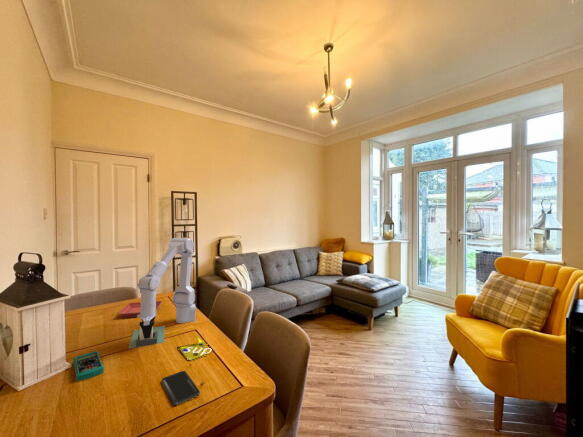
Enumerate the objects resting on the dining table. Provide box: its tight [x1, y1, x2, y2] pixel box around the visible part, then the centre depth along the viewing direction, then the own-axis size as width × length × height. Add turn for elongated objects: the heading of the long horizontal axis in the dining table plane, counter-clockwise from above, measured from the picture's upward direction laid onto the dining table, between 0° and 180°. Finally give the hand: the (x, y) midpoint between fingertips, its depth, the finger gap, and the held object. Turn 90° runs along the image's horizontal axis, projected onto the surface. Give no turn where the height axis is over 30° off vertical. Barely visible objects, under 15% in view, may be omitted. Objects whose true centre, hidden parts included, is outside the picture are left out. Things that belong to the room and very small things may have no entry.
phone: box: [161, 370, 201, 407], centre depth 81 cm, size 8×1×15 cm
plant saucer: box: [118, 300, 163, 319], centre depth 144 cm, size 18×18×3 cm
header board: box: [128, 325, 166, 349], centre depth 113 cm, size 13×18×3 cm
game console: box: [176, 335, 213, 361], centre depth 106 cm, size 18×11×2 cm, turn 44°
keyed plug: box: [139, 326, 154, 340], centre depth 108 cm, size 5×4×7 cm
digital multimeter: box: [72, 351, 105, 382], centre depth 90 cm, size 7×15×3 cm, turn 44°
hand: (147, 335), depth 108 cm, fingers closed on keyed plug, 4 cm apart
